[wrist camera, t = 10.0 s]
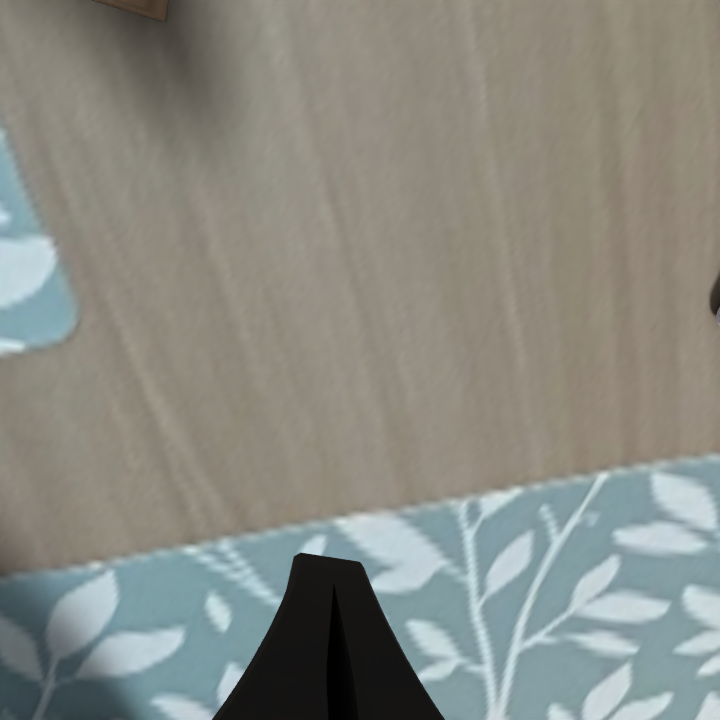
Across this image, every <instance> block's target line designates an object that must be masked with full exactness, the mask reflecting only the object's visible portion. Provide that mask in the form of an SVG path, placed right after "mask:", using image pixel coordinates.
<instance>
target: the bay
mask: <svg viewBox="0 0 720 720" xmlns="http://www.w3.org/2000/svg"><path fill="white" fill-rule="evenodd" d="M93 1H96V2H100V3H103V4H106V5H110V6H113V7H117V8H120V9H123V10H127V11H130V12H133V13H137V14H140V15H143V16H147V17H150V18H154V19H157V20H160V21H164V22H165V21H166V14H167V6H168V0H93Z"/></svg>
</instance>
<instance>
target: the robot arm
mask: <svg viewBox="0 0 720 720" xmlns="http://www.w3.org/2000/svg"><path fill="white" fill-rule="evenodd" d="M716 319H717V323H718V324H719V326H720V307H719V309H718V312H717V315H716ZM212 720H445V719H444V718H443V716H442V715H441V713H440V712H439V710H438V709H437V707H436V706H435V704H434V703H433V701H432V700H431V698H430V696H429V695H428V693H427V692H426V690H425V689H424V687H423V685H422V684H421V682H420V680H419V679H418V677H417V675H416V674H415V672H414V670H413V668H412V667H411V665H410V663H409V661H408V660H407V658H406V656H405V654H404V652H403V651H402V649H401V647H400V645H399V643H398V641H397V639H396V637H395V635H394V633H393V631H392V629H391V628H390V626H389V624H388V621H387V619H386V617H385V615H384V613H383V611H382V609H381V607H380V605H379V602H378V600H377V598H376V596H375V593H374V591H373V589H372V586H371V584H370V582H369V579H368V577H367V574H366V572H365V569H364V567H363V566H362V564H361V563H360V562H357V561H351V560H345V559H338V558H332V557H325V556H319V555H312V554H306V553H299V554H298V555H296V556H294V559H293V563H292V568H291V572H290V576H289V581H288V585H287V589H286V592H285V595H284V598H283V600H282V602H281V604H280V607H279V609H278V611H277V613H276V615H275V618H274V620H273V622H272V624H271V626H270V628H269V630H268V632H267V634H266V636H265V637H264V639H263V641H262V643H261V645H260V646H259V648H258V650H257V652H256V654H255V655H254V657H253V659H252V661H251V662H250V664H249V666H248V667H247V669H246V671H245V672H244V674H243V675H242V677H241V678H240V680H239V682H238V683H237V685H236V686H235V688H234V689H233V691H232V692H231V694H230V695H229V697H228V698H227V700H226V701H225V702H224V704H223V705H222V707H221V708H220V709H219V711H218V712H217V713H216V715H215V716H214V718H213V719H212Z"/></svg>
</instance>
